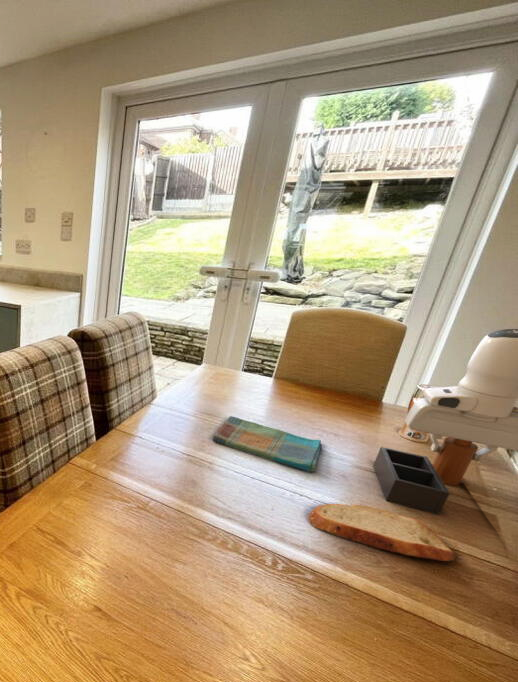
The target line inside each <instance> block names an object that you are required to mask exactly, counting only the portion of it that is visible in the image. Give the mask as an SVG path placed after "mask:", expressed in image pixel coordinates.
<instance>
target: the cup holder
mask: <svg viewBox="0 0 518 682" xmlns="http://www.w3.org/2000/svg"><path fill="white" fill-rule="evenodd" d="M432 464H433V463H432V462H431V461H430V459H429V457H428V456H425V455H420V454H415V453H411V452H408V451H402V450H399V449H393V448H389V447H385V446H380V448H379V451H378V453H377V456H376V457H375V460H374V462H373V465H372V467H373V470H374V472H375V475H376V478H377V481H378V483H379V486H380V488H381V491H382V493H383V496H384V499H385V501H386V502H388V503H393V504H397V505H400V506H405V507H408V508H412V509H415V510H419V511H422V512H425V513H430V514H434V515H437V516H439V515H440V513H441V511H442V510H443V508H444V505H445V504H446V502H447V500H448V498H449V495H450V491H449V489H448V488H447V486H446V484H444V483H443V482H442V480H441V478H440V477H439V475H438V474H437V472H436V470H435V469H434V467H433V465H432Z"/></svg>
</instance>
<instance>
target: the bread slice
mask: <svg viewBox="0 0 518 682" xmlns="http://www.w3.org/2000/svg"><path fill="white" fill-rule="evenodd" d="M307 519H308V522H309V523H310V524H311V526H313V527H314V528H317V529H318V530H321V531H325V532H327V533H329V534H331V535H334V536H337V537H339V538H343V539H346V540H349V541H351V542H356V543H360V544H363V545H368V546H370V547H373V548H376V549H379V550H386V551H388V552H390V553H397V554H400V555H402V556H408V557H414V558H417V559H428V560H433V561H440V562H450V561H453V560H454V559H455V552H454V551H453V550H452V548H450V547H449V546H448V545H447V544H446V542H444V541H443V540H442V538H441V537H439V536H438V535H437V533H436V532H434V530H432V529H431V528H430V527H428V526H427V525H426V524H424V523H423V522H421V521H419V520H418V519H415V518H412V517H409V516H405V515H402V514H399V513H396V512H392V511H390V510H387V509H382V508H378V507H371V506H367V505H362V504H341V503H327V504H320V505H318V506H315V508H314V509H312V511H311V512H310V513H309V514H308V518H307Z"/></svg>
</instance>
